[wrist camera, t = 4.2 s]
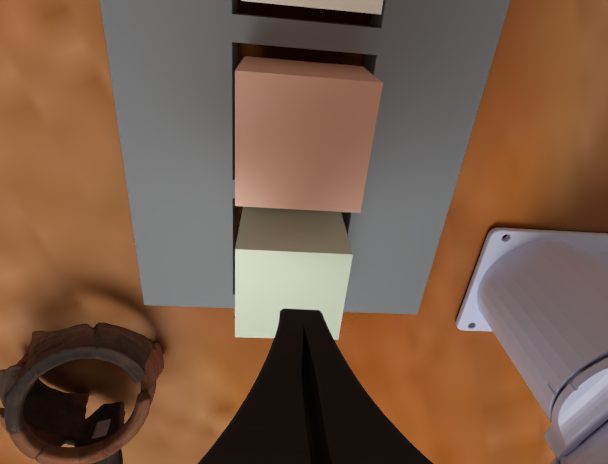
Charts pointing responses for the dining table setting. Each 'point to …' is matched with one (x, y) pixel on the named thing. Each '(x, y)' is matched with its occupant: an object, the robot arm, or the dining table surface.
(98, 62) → the dining table surface
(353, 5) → the cream key
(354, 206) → the terracotta key
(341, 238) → the sage key
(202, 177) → the grey rectangular frame
